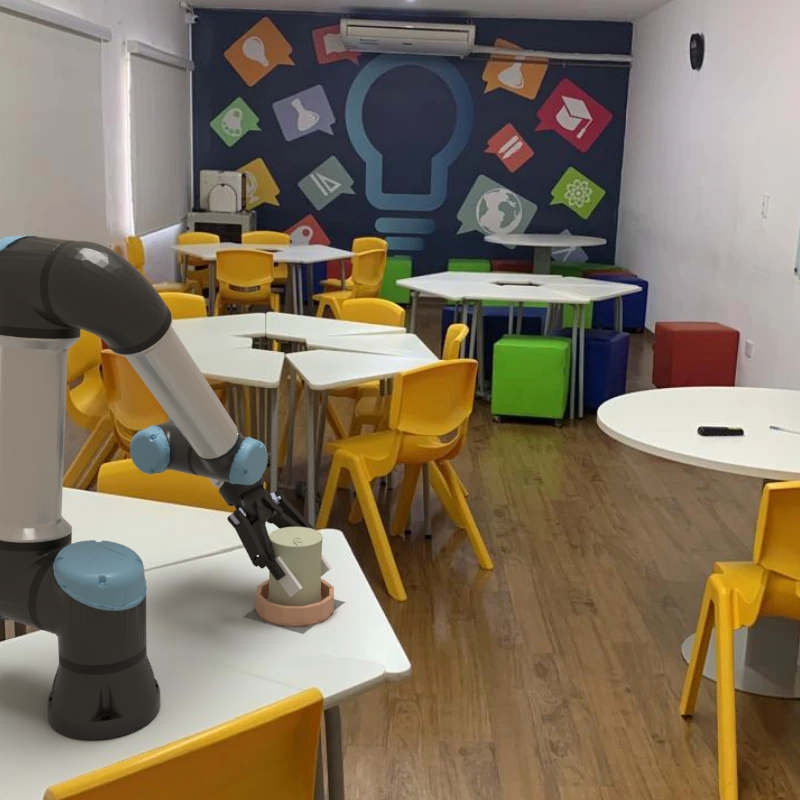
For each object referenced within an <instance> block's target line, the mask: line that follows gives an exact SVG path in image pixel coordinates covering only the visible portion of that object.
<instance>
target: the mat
mask: <svg viewBox="0 0 800 800" xmlns="http://www.w3.org/2000/svg"><path fill="white" fill-rule="evenodd" d="M345 603H346V601H343V600H339V599H335V598H334V611H336V610H337V609H338V608H339V607H341V606H342V605H343V604H345ZM242 617H243V618H246V619H249V620H252V621H256V622H259V623H263V624H265V625H266V624H267V625H270V626H274V627H278V628H281V629H284V630H287V631H290V632H295V633H299V634H302V635H304V634H305V633H306V632H307V631H309V630H310V629H311V628H313V627H315V625H317V624H314V625H309V626H302V627H287V626H279V625H275V624H272V623H269V622H266V621H265V620H263V619H262V618H260V617H259V616H258V614H257V611H256V607H255V608H254V609H252V610H251V611H249V612H247V613H246V614H245V615H243V616H242Z"/></svg>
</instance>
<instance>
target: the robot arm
mask: <svg viewBox="0 0 800 800" xmlns="http://www.w3.org/2000/svg"><path fill="white" fill-rule="evenodd" d="M172 325H173V314H172V311H171V310H170V308H169V306H168V304H166V302H165V301H164V299H163V297H161V295H160V294H159V292H158V290H157V289H156V288H155V287H154V286H153V285H152V283H151V282H150V281H149V280H148V278H146V276H144V275H143V273H142V272H141V271H139V269H138V268H136V267H135V266H134V265H133V264H132V263H131V261H129V260H127V258H125V257H123V256H122V255H121V254H120V253H118V252H117V251H115V250H113V249H111V248H110V247H108V246H105V245H102V244H100V243H97V242H94V241H88V240H74V239H73V240H70V239H63V238H62V239H61V238H53V237H44V236H43V237H42V236H36V235H34V234H33V235H32V234H30V235H10V236H9V235H8V236H5V237H1V238H0V347H1V348H0V349H1V352H0V353H1V354H0V357H1V359H0V360H1V361H0V619H2V620H4V621H12V622H16V623H19V624H22V625H25V626H29V627H31V628H34V629H37V630H40V631H43V632H48V633H51V634H53V635H56V637H57V648H58V666H57V670H56V672H55V675H54V678H53V679H54V680H53V682H52V687H51V690H50V692H49V693H48V694H49V695H48V696H47V697H48V698H47V703H46V705H47V707H46V708H47V720H48V723H49V725H50V727H52V728H53V730H54V731H56V732H57V733H60V734H61V735H64V736H66V737H70V738H72V739H73V738H74V739H80V740H107V739H113V738H117V737H118V738H119V737H120V736H121V737H122V736H124V735H128V734H131V733H133V732H135V731H137V730H140V729H141V728H143V727H145V726H147V725H148V724H149V723H150V722H151V721H153V720H154V719H155V717H156V716H157V715H158V714H159V711H160V710H161V709H160V708H161V689H160V685H159V682H158V680H157V679H156V678H155V674H154V670H153V667H152V665H151V663H150V662H151V661H150V660H149V657H148V654H147V650H148V649H147V588H148V587H147V580H146V576H145V566H144V562H143V560H142V559H141V558H142V557H141V556H139V554H138V553H137V552H136V551H134V550H133V549H131V548H130V547H129V546H126V545H124V544H123V543H122V544H121V543H117V542H114V541H109V540H101V541H96V540H95V539H94V540H93V539H92V540H91V539H90V540H89V539H88V540H82V541H81V540H80V541H76V542H74V543H72V542H73V538H72V537H73V535H72V534H73V526H72V524H71V523H70V522H68V520H66V519H65V518H64V517H63V515H62V513H63V512H62V508H63V490H64V489H63V486H64V482H63V481H64V461H65V460H64V459H65V435H66V434H65V432H66V413H67V412H66V410H67V409H66V407H67V384H68V358H69V350H70V349H71V347H72V346H74V345H75V344H76V343H77V342H78V341H79V340H80V339H81V330H82V331H85V332H88V333H91V334H93V335H95V336H96V337H98V338H100V339H101V340H102V341H103V342H104V343H105V344H106V345H107V347H108V348H109V349H110V350H111V352H113V353H114V354H115V355H117V356H118V355H119V356H123V357H125V358H126V360H127V361H128V363H129V364H130V366H132V368H133V370H134V371H135V372H136V374H137V375H138V376H139V377H140V379H141V380H142V382H143V383H144V384H145V386H146V387H147V389H148V390H149V391H150V393H151V394H152V395H153V396H154V398H155V400H156V401H157V402H158V403H159V405H160V407H162V409H163V410H164V411H165V413H166V414H167V416H168V418H167V419H168V421H165V422H162V423H161V422H160V423H158V424H152V425H149V426H148V427H146V428H144V429H142V430H139V431H138V432H136V433H135V434H134V435H133V437H132V438H131V441H130V444H129V453H130V457H131V462H132V463H133V465H135V467H136V469H138V470H139V471H140V472H142V473H143V474H147V475H155V474H157V473H158V474H161V473H164V472H166V471H174V472H180V473H184V474H189V475H193V476H196V477H197V476H199V477H203V478H208V480H209V481H210V482H211V484H212V485H213V487H215V488H219V489H218V494H220V496H221V497H222V498H223V500H224V501H225V503H226V504H227V506H229V507H234V508H235V510H234V511H233V512H232V513H230V514H229V515H228V517H226V518H227V521H228V523H229V524H230V525H231V526H232V527H233V528H234V530H235V532H236V534H237V536H238V537H239V539H240V541H241V543H242V545H243V548H244V549H245V551H246V553H247V555H248V557H249V559H250V561H251V563H252V565H253V567H256V568H257V567H259V569H261V570H262V569H264V568H265V567H266V569H268V571H270V572H271V574H272V575H273V576H274V578H275V579H276V580H277V581H279V582H280V584H281V585H282V587H283V588H284V589H285V591H286V592H287V594H288V595H289V596H290V597H292V596H293V595H294V594H295V593H297V592H298V591H299V590H300V589H302V586H301V585H300V583H299V582H298V581H297V579H296V578H295V576H294V575H293V574H292V572H291V571H290V570H289V568H288V567H287V565H286V564H285V563H284V561H283V560H282V559H281V557H280V556H279V557H277V558H276V559H275V554H274V550H273V547H272V544H271V541H270V538H269V535H270V534H269V532H268V529H267V525H266V524H267V523H268V524H273V525H275V526H276V527H277V528H278V529H281V528H285V527H306V528H311V529H314V530H315V528H314V526H313V525H312V524H311V523H310V522H309V521H308V520H307V519H306V518H305V517H304V516H303V515H302V514H301V513H300V512H299V511H298V509H296V507H295V506H294V505H293V504H292V503H291V502H290V501H289V500H288V499H287V498H286V496H285V494H284V492H283V491H282V490H281V489H279V488H278V489H276V490H274V492H272V493H270V492H269V491H268V490H267V489H265V488H264V484H265V479H264V477H263V474H264V473H265V471H266V469H267V465H268V457H269V456H268V450H267V447H266V445H265V444H264V443H263V442H262V441H261V440H259V439H255V438H252V437H251V436H247V437H246V436H244V435H243V434H242V433H241V431H240V429H238V426H237V425H236V424H235V422H234V421H233V419H232V418H231V416H230V415H229V413H228V412H227V410H226V409H225V407H224V405H223V403H222V402H221V401H220V399H219V398H218V396H217V394H216V392H215V391H214V389H213V388H212V387H211V385H210V383H209V381H207V379H206V377H205V376H204V374H203V373H202V371H201V370H200V368H199V366H198V365H197V363H196V362H195V360H194V359H193V358H192V356H191V355H190V353H189V350H187V348H186V346H185V345H184V343H183V342H182V340H181V339H180V337H179V335H178V334H177V333H176V331H175V329H174V328H173V327H172ZM331 569H332V566H331V565H330V564H329V563H328V560H326V558H325V557H324V556H323V555H322V558H321V577H323V576H324V575H325V574H326V573H328V572H329V571H330V570H331Z"/></svg>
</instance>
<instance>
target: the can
mask: <svg viewBox="0 0 800 800" xmlns="http://www.w3.org/2000/svg"><path fill="white" fill-rule="evenodd" d="M268 535H269V538H270V541H271V544H272V547H273V550H274V554H275V559H276V558H277V557H279V556H280V557H281V559H282V560H283V561H284V563H285V564H286V565H287V567H288V568H289V570H290V571H291V572H292V574H293V575H294V576H295V578H296V579H297V581H298V582H299V583H300V585H301V586H302V589H300V590H299V591H298V592H297V593H295V594H294V595H293V596H292V597H290V596H289V595H288V594H287V592H286V591H285V589H284V588H283V587H282V585H281V584H280V582H279V581H277V580H276V579H275V578H274V576H273V575H272V574H271V572H270V571H269V570H268V571H269V573H268V575H269V576H268V579H269V595H268V601H269V602H272V603H276V604H280V605H283V606H306V605H310V604H314V603H318V602H320V601H321V579H322V576H321V558H322V556H323V553H322V552H323V551H322V550H323V539H324V536H323V534H322V533H321V531H318V530H316V529H315V528H314V529H311V528H306V527H285V528H281V529H279V528H278V529H275V530H273V531H272V532H271V533H269V534H268Z"/></svg>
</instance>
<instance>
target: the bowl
mask: <svg viewBox="0 0 800 800" xmlns="http://www.w3.org/2000/svg"><path fill="white" fill-rule="evenodd" d="M256 587H257V588H256V593H255V608H256V611H257V614H258V616H259V617H260V618H262V619H263V620H265V621H266V622H269V623H272V624H275V625H279V626H287V627H302V626H309V625H314V624H316V625H317V624H320V623H323V622H325V621H326V620H327V619H329V618H330V617H331V616H332V615H333V614H334V611H335V610H334V599H335V587H334V585H332V584H330V583H329V582H328V581H326V580H325V579H323V578H321V601H320V602H318V603H314V604H310V605H306V606H283V605H280V604H276V603H272V602H269V601H268V595H269V578H268V579H266V580H265V581H263V582H261V583H260V584H259V585H257V586H256ZM314 626H315V625H314Z"/></svg>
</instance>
